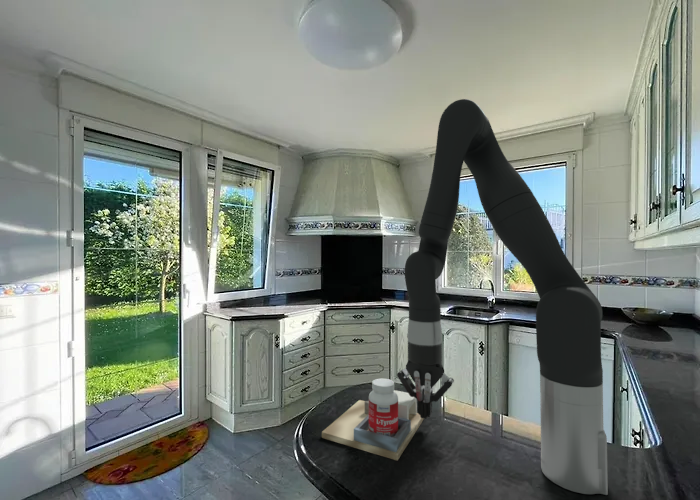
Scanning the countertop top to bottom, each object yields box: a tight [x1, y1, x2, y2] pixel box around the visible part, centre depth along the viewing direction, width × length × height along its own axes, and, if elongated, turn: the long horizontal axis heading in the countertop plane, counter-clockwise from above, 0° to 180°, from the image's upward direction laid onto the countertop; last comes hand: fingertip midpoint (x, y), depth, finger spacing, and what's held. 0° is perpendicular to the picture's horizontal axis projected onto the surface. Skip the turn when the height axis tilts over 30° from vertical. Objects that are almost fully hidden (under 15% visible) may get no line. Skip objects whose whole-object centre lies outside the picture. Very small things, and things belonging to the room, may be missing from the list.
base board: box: [321, 399, 425, 461], centre depth 75 cm, size 17×18×4 cm
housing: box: [394, 389, 418, 420], centre depth 78 cm, size 7×7×4 cm
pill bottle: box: [368, 377, 398, 438], centre depth 70 cm, size 6×6×11 cm
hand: (424, 417), depth 75 cm, fingers closed
